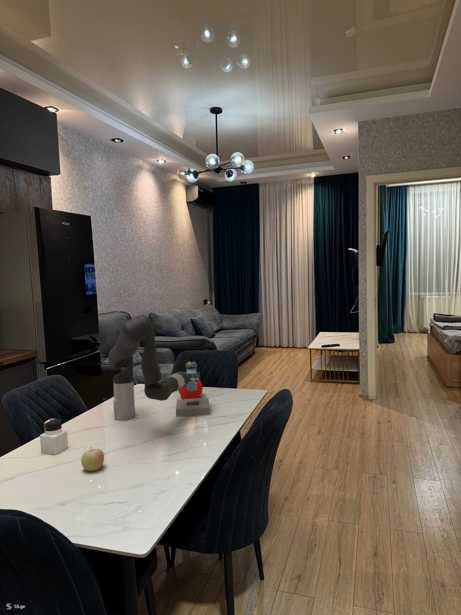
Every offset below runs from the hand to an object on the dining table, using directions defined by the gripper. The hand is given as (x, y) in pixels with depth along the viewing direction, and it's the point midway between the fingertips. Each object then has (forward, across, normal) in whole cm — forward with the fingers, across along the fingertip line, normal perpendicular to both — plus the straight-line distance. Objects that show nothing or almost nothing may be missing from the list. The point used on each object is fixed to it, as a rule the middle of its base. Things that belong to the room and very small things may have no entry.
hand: (194, 373), depth 208 cm
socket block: (-2, 0, +18) cm, 18 cm away
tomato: (+16, +11, +18) cm, 27 cm away
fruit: (-69, +4, +18) cm, 72 cm away
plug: (-3, 0, +8) cm, 8 cm away
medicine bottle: (-61, +30, +18) cm, 71 cm away
